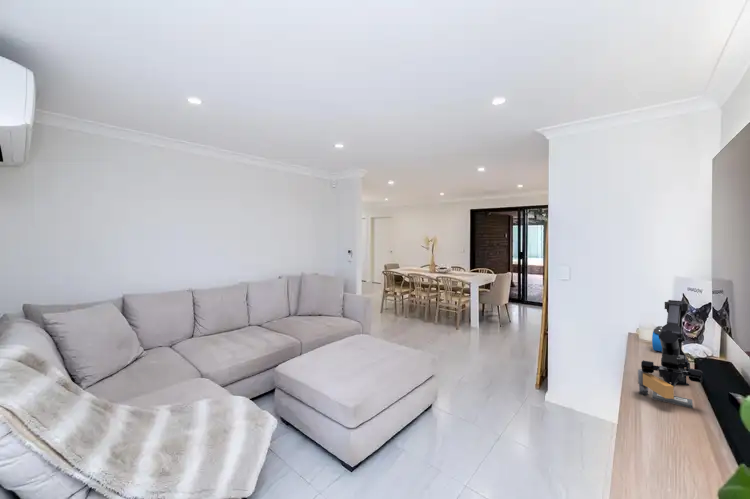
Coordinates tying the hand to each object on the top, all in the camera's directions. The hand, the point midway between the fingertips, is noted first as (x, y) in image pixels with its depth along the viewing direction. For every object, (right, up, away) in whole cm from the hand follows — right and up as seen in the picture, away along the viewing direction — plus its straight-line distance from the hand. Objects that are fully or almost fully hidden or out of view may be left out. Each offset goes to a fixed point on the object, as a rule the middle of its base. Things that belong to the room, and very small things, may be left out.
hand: (670, 390), depth 131 cm
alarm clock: (+56, -6, +68) cm, 88 cm away
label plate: (+6, -7, +6) cm, 11 cm away
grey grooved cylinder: (0, -7, +13) cm, 15 cm away
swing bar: (-1, -3, +6) cm, 7 cm away
